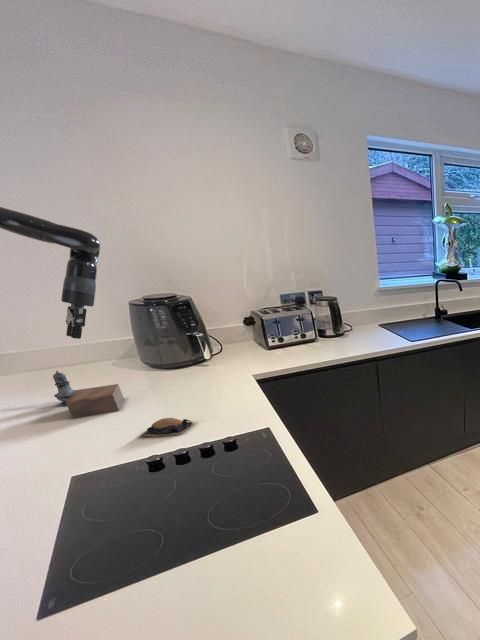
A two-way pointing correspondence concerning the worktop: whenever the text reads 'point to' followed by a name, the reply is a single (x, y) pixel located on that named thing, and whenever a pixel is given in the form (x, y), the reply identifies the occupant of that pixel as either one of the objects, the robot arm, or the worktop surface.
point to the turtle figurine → (168, 427)
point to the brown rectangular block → (95, 401)
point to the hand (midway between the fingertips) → (73, 337)
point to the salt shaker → (62, 388)
